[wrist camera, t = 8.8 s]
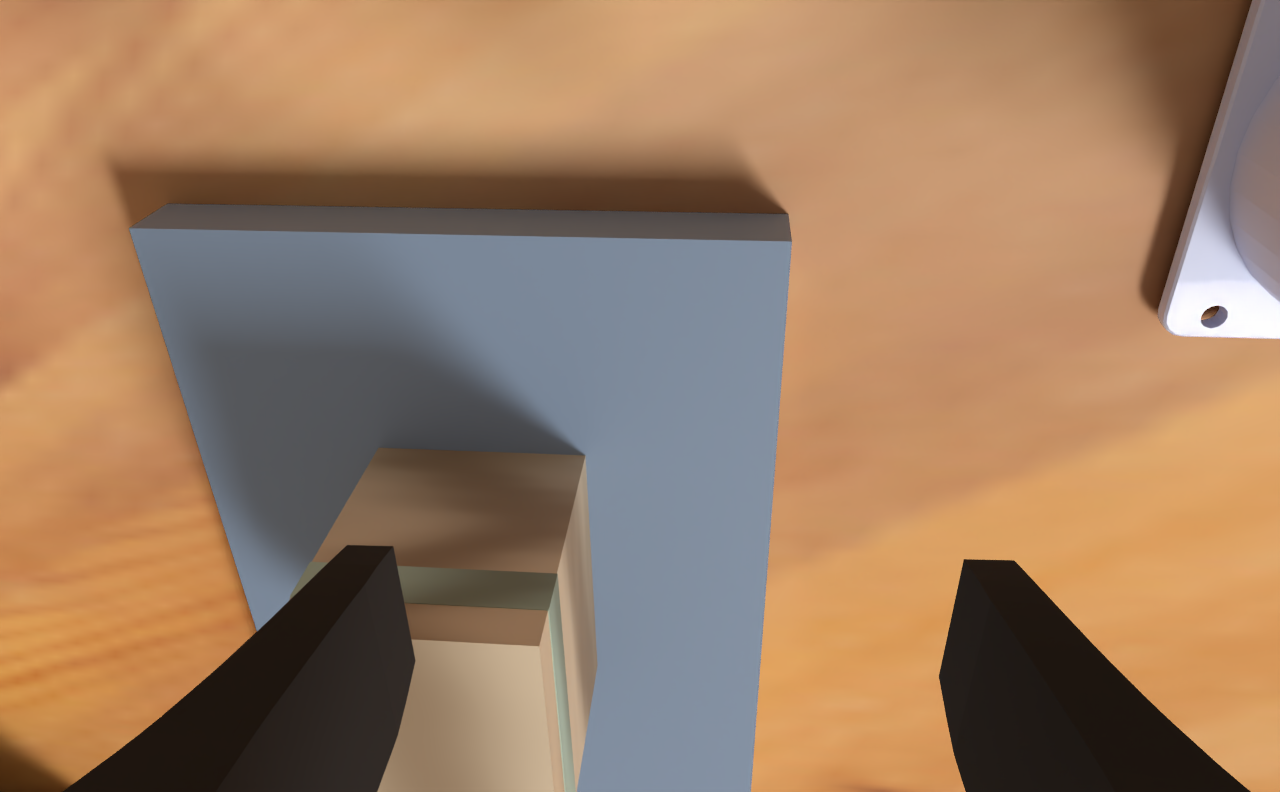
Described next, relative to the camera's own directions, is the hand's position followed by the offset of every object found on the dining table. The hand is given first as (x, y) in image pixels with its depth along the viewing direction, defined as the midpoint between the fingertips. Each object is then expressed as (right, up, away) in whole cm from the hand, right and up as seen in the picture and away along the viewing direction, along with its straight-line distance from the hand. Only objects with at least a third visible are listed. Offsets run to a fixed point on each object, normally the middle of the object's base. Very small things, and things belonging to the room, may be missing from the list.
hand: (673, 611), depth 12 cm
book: (-4, -1, +14) cm, 14 cm away
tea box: (-4, -2, +12) cm, 13 cm away
